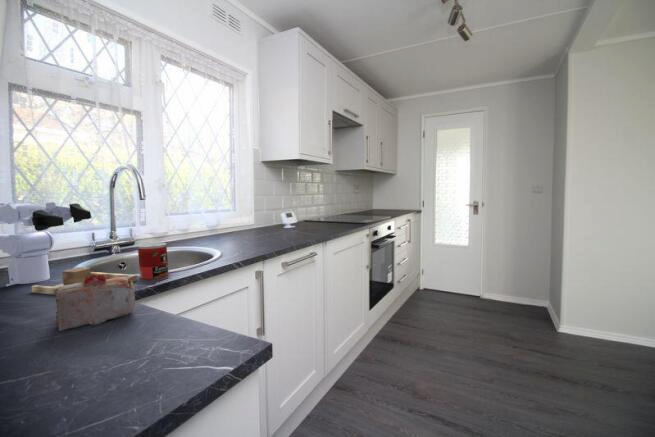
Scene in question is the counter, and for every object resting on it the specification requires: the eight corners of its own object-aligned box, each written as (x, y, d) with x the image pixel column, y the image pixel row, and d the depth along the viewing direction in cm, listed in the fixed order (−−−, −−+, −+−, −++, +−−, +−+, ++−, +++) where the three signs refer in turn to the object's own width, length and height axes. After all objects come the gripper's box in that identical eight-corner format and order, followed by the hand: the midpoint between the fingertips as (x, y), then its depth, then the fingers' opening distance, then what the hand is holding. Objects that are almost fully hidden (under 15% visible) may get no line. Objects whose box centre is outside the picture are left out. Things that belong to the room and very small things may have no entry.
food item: (131, 306, 76) (128, 266, 75) (138, 316, 70) (134, 272, 69) (57, 323, 67) (52, 277, 66) (57, 335, 61) (52, 286, 60)
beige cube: (63, 287, 88) (62, 271, 88) (80, 282, 93) (78, 267, 92) (75, 288, 87) (74, 272, 87) (91, 283, 92) (90, 268, 91)
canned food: (157, 283, 94) (154, 247, 93) (134, 282, 96) (131, 246, 95) (174, 276, 102) (172, 242, 101) (152, 275, 103) (150, 242, 102)
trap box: (32, 296, 85) (31, 286, 84) (88, 280, 99) (87, 271, 99) (86, 302, 79) (85, 291, 79) (137, 284, 94) (136, 275, 94)
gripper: (7, 206, 85) (44, 209, 81) (64, 197, 98) (98, 199, 95) (14, 231, 86) (50, 235, 83) (69, 219, 100) (102, 222, 96)
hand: (76, 218), depth 89 cm, fingers open, 7 cm apart
